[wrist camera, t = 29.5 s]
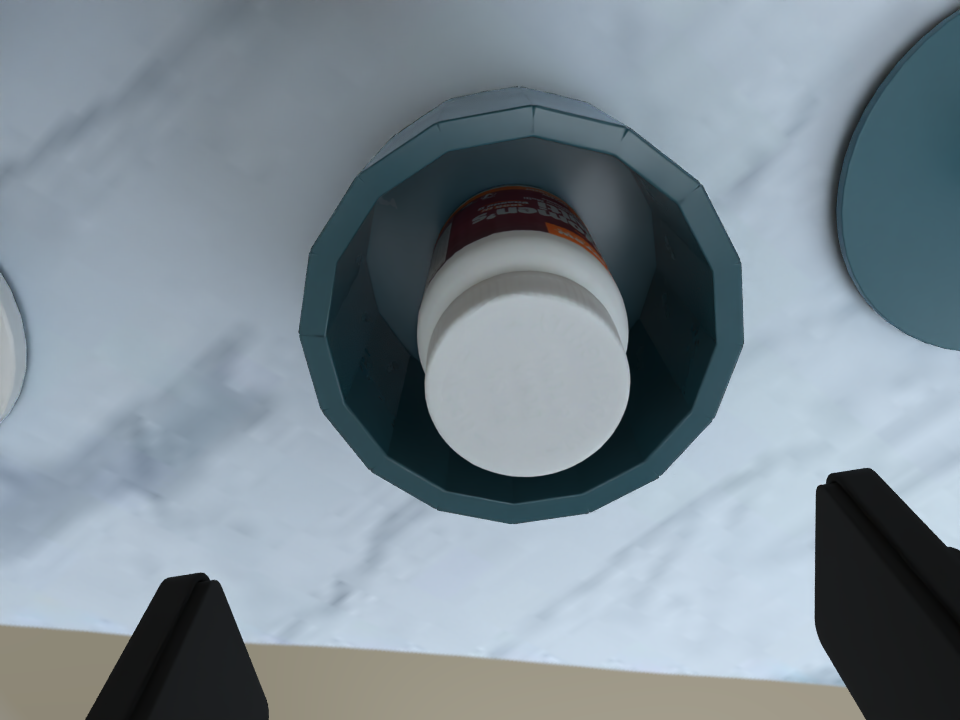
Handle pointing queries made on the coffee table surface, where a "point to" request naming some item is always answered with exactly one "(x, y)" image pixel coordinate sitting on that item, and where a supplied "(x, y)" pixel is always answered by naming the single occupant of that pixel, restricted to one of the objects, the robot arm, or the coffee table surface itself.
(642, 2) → the coffee table surface
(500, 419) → the pill bottle
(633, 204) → the pot
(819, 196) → the coffee table surface
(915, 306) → the lid
